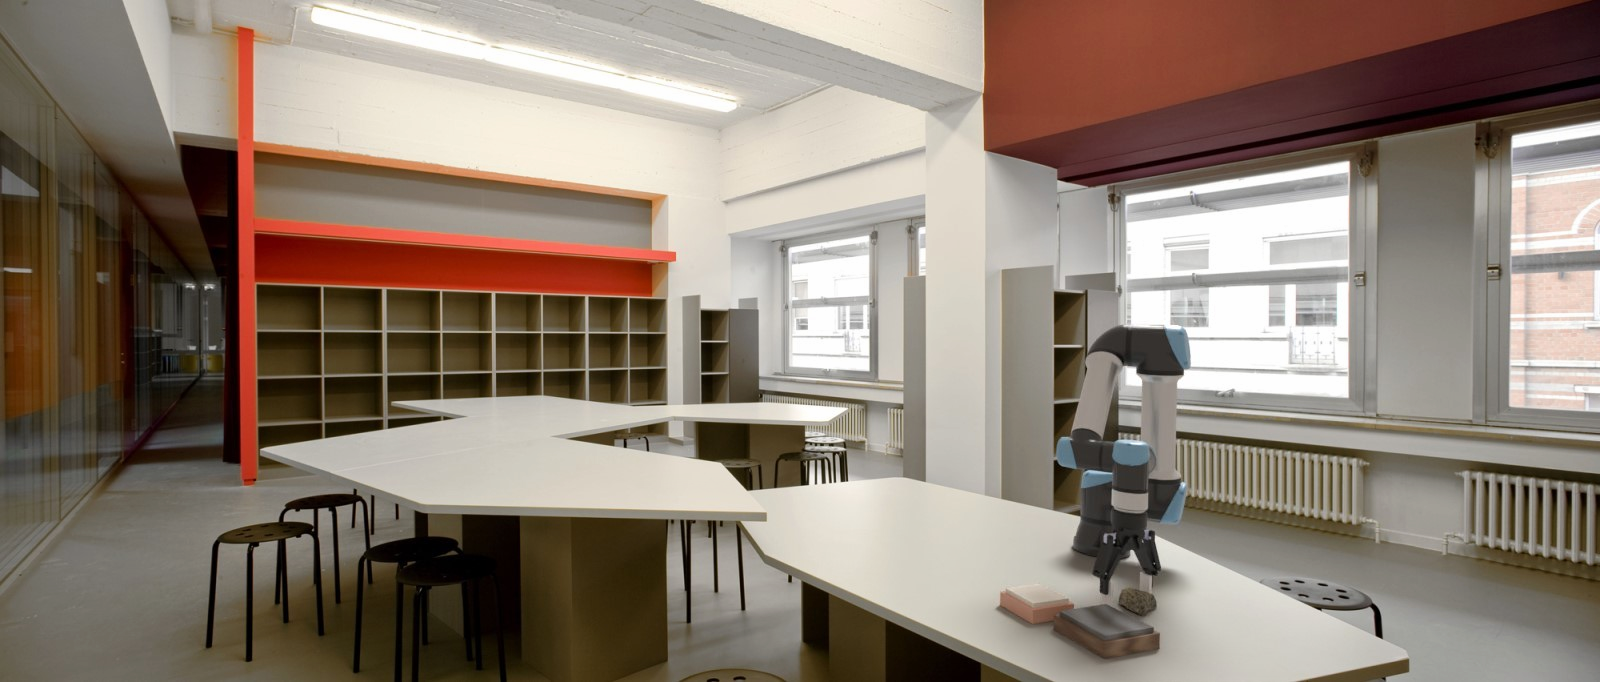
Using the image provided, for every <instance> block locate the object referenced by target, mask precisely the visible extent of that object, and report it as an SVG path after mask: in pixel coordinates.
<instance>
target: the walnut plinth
mask: <svg viewBox="0 0 1600 682" xmlns="http://www.w3.org/2000/svg"><path fill="white" fill-rule="evenodd" d="M1053 630H1054V631H1056V632H1058V633H1059V634H1061V635H1063V636H1065V637H1066V638H1068V639H1070V640H1071V641H1073V642H1075V643H1077V644H1078V645H1080V646H1082V647H1083V648H1085V649H1087V650H1088V651H1091V652H1092V653H1094V654H1096V656H1097V655H1098V656H1099V657H1101V659H1102V658H1103V659H1104V660H1106V659H1109V658H1110V659H1111V658H1116V657H1121V656H1127V655H1132V654H1136V653H1142V652H1147V651H1153V650H1157V649H1160V646H1161V645H1160V643H1161V632H1157V631H1156V630H1155V629H1154V626H1152V625H1150V624H1149V623H1146V622H1144V621H1142V620H1140V619H1138V618H1136V617H1134V616H1132V615H1130V614H1128V613H1125V612H1123V611H1121V610H1119V609H1117V608H1115V607H1111V606H1109V605H1107V604H1102V605H1101V604H1098V605H1097V604H1096V605H1090V606H1083V607H1079V608H1078V607H1077V608H1074V609H1070V610H1064V611H1060V614H1056V615H1054V621H1053Z"/></svg>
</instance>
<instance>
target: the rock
mask: <svg viewBox="0 0 1600 682" xmlns="http://www.w3.org/2000/svg"><path fill="white" fill-rule="evenodd" d="M1118 604H1119V605H1120V606H1124V607H1125V609H1127V610H1129V611H1131V612H1132V613H1136V614H1137V615H1139V616H1142V617H1146V616H1147V612H1151V611H1152V610H1154V609H1156V608H1157V605H1158V604H1157V599H1156V598H1155V596H1154V594H1153V593H1152V594H1151V593H1148V592H1146V591H1141V590H1140V589H1137V588H1134V587H1130V586H1129V587H1128V586H1127V587H1125V588H1123V589H1121V593H1120V594H1119V597H1118Z"/></svg>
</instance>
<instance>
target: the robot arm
mask: <svg viewBox="0 0 1600 682" xmlns="http://www.w3.org/2000/svg"><path fill="white" fill-rule="evenodd" d="M1187 332H1188V331H1187V330H1186V329H1185V328H1184V327H1183V326H1182V325H1181V326H1180V325H1175V324H1172V325H1171V324H1130V323H1129V324H1127V323H1126V324H1118V325H1116V326H1113V327H1111V328H1109V329H1108V330H1106V331H1104V332H1103V333H1102V334H1101V335H1099V336H1098V338H1096V340H1094V342H1093V343H1092V345H1091V346H1090V347H1089V348H1088V351H1087V353H1086V357H1085V362H1084V363H1085V367H1086V368H1087V370H1086V374H1085V377H1084V381H1083V384H1082V385H1083V386H1082V388H1081V393H1080V396H1079V399H1078V400H1079V401H1078V403H1077V407H1076V412H1075V415H1074V419H1073V424H1072V427H1071V430H1070V431H1071V432H1070V436H1061V437H1060V438H1059V439H1058V441H1057V444H1056V455H1055V456H1056V461H1057V463H1058V464H1059V465H1060V466H1061V467H1065V468H1069V469H1074V470H1084V472H1083V474H1082V477H1081V485H1080V489H1081V490H1080V520H1079V524H1078V526H1077V528H1076V533H1075V535H1074V537H1073V540H1072V547H1073V549H1074V550H1076V551H1077V552H1079V553H1082V554H1084V555H1087V556H1093V557H1096V559H1095V562H1094V566H1093V569H1092V573H1091V574H1092V576H1094V577H1095V578H1098V579H1099V593H1100V605H1102V604H1107V605H1109V606H1111V607H1113V606H1114V605H1113V603H1114V602H1113V601H1114V580H1111V579H1112V577H1113V575H1114V573H1115V571H1116V570H1117V567H1118V565H1119V563H1120V561H1121V559H1123V558H1127V557H1129V556H1131V551H1133V552H1134V554H1135V557H1136V559H1137V561H1138V563H1139V565H1140V567H1141V569H1142V571H1140V572H1139V590H1141V591H1146V592H1148V593H1151V594H1152V595H1153V593H1152V590H1153V587H1154V576H1155V577H1157V576H1158V575H1159V572H1161V570H1162V565H1161V561H1160V557H1159V553H1158V548H1157V543H1156V532H1155V530H1152V529H1149V528H1147V527H1148V522H1151V523H1157V524H1159V525H1161V524H1165V525H1177V524H1179V523H1180V521H1181V520H1182V517H1183V513H1184V508H1185V504H1186V498H1187V494H1188V484H1187V483H1186V482H1184V481H1182V474H1181V473H1180V472H1179V471H1178V470H1176V451H1177V450H1176V448H1177V446H1176V443H1177V412H1178V411H1177V410H1178V409H1177V408H1178V407H1177V405H1178V404H1177V403H1178V383H1179V381H1180V380H1181V379H1182V378H1183V377H1184V376H1185V371H1186V370H1189V369H1190V368H1191V364H1192V362H1191V360H1192V359H1191V346H1190V340H1189V336H1188V333H1187ZM1124 367H1133V368H1135V375H1136V376H1138V377H1139V378H1140V379H1141V410H1140V411H1141V413H1140V414H1141V415H1140V419H1141V420H1140V440H1138V439H1136V440H1134V439H1117V440H1115V441H1107V440H1103V438H1104V433H1105V429H1106V425H1107V420H1108V416H1109V412H1110V408H1111V402H1112V398H1113V393H1114V389H1115V384H1116V381H1117V377H1118V375H1120V373H1121V372H1122V371H1123V368H1124ZM1113 608H1114V607H1113Z"/></svg>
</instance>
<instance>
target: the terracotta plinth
mask: <svg viewBox="0 0 1600 682" xmlns="http://www.w3.org/2000/svg"><path fill="white" fill-rule="evenodd" d="M999 597H1000V598H999V605H1000V606H1002V607H1003V608H1004V609H1006V610H1008V611H1009V612H1011V613H1013V614H1015V615H1016V616H1019V618H1022V619H1023V620H1025V621H1027V622H1028V623H1030V624H1031V625H1035V624H1041V623H1042V624H1043V623H1046V622H1048V623H1049V622H1054V615H1056V614H1060V611H1064V610H1070V609H1075V603H1073V602H1072V601H1070V599H1069V597H1066V596H1065V595H1063V594H1060V593H1059V592H1057V591H1055V590H1053V589H1051V588H1049V587H1047V586H1045V585H1043V584H1041V583H1033V584H1027V585H1026V584H1025V585H1019V586H1012V587H1005V590H1002V591H1000V594H999Z"/></svg>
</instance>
